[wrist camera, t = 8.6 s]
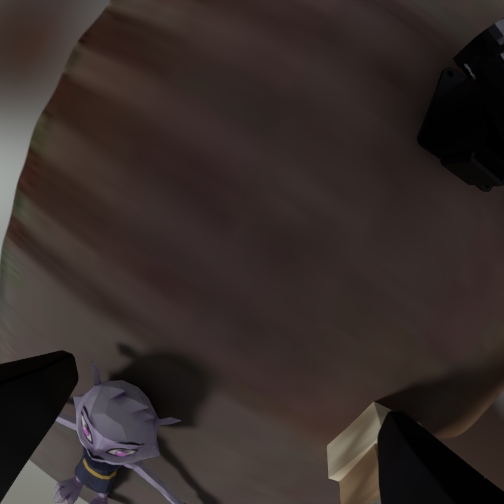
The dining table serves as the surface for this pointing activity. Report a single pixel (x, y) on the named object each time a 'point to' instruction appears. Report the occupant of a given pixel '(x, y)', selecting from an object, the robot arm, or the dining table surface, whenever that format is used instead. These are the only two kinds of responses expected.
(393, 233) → the dining table surface
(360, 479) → the top block
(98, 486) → the toy
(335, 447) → the base block
